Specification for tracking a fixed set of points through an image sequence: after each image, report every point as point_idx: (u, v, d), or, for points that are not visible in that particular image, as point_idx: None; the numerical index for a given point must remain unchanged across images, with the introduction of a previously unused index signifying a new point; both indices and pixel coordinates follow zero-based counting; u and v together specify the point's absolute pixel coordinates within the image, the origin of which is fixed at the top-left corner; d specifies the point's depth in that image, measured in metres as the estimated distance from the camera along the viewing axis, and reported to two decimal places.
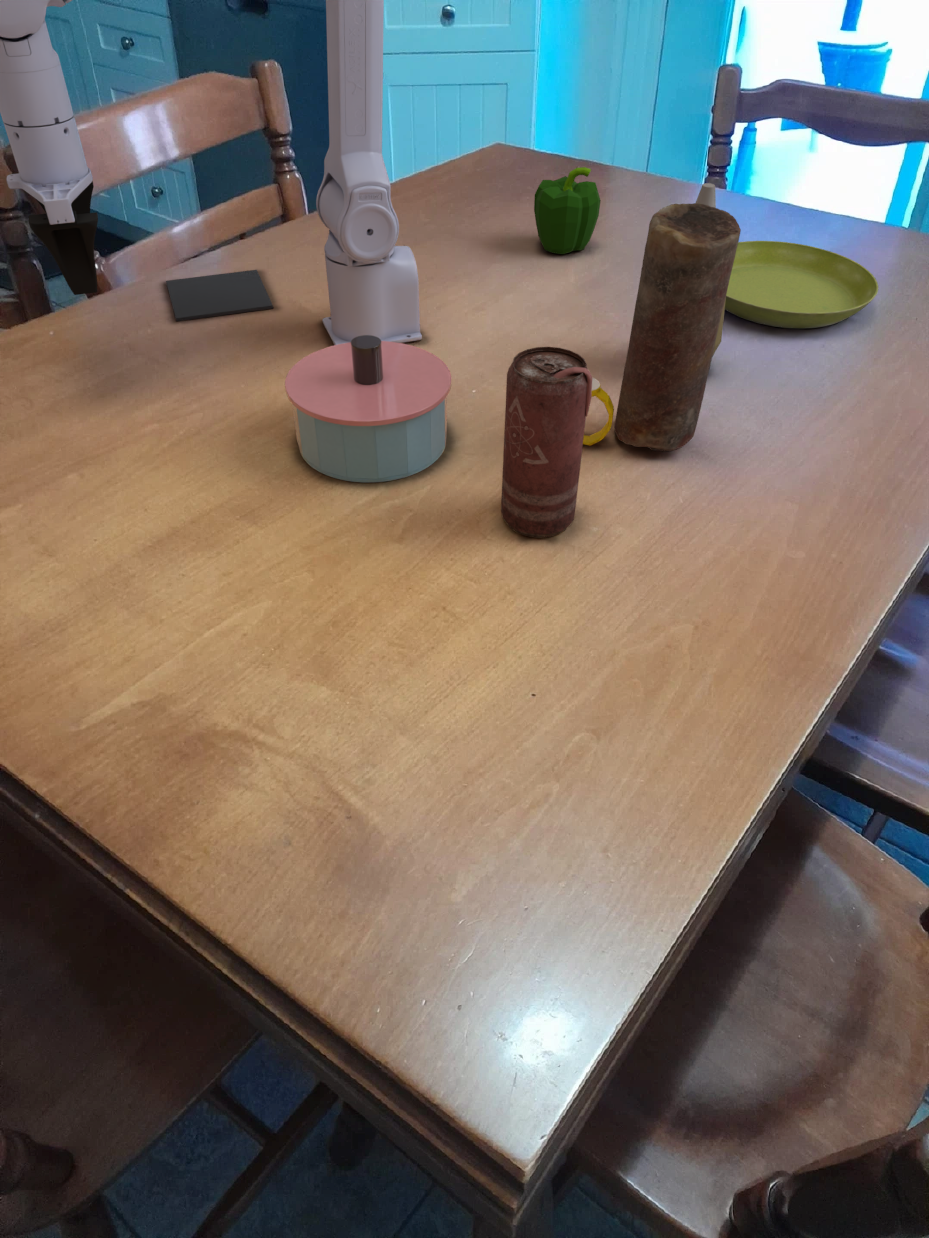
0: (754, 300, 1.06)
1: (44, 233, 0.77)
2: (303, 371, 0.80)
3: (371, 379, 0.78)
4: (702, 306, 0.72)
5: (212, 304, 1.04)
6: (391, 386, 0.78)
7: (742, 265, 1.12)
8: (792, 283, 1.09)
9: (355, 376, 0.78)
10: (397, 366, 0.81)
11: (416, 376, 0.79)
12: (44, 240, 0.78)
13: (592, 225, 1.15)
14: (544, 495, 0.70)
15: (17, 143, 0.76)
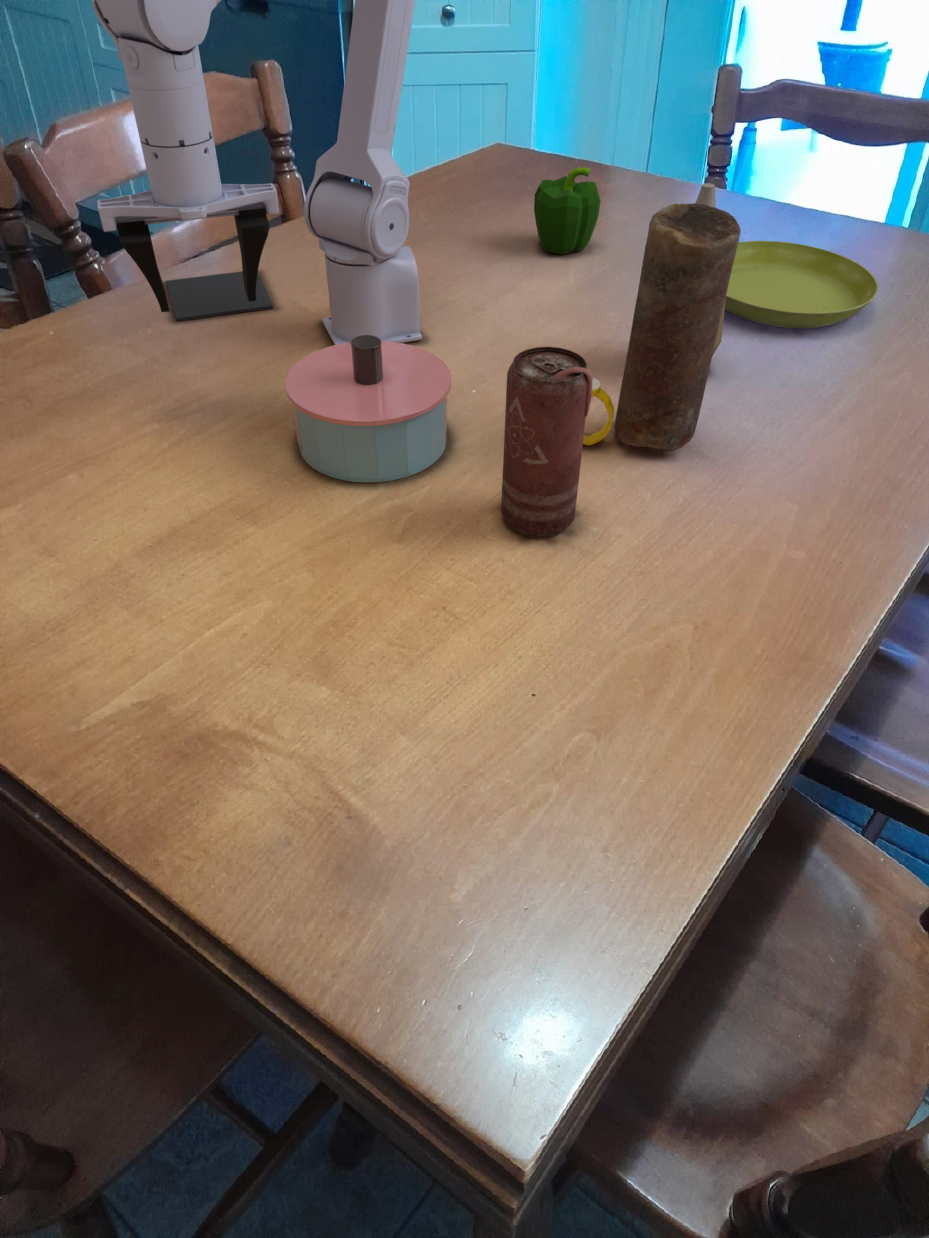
0: (754, 300, 1.06)
1: None
2: (303, 371, 0.80)
3: (371, 379, 0.78)
4: (702, 306, 0.72)
5: (212, 304, 1.04)
6: (391, 386, 0.78)
7: (742, 265, 1.12)
8: (792, 283, 1.09)
9: (355, 376, 0.78)
10: (397, 366, 0.81)
11: (416, 376, 0.79)
12: None
13: (592, 225, 1.15)
14: (544, 495, 0.70)
15: (206, 160, 0.72)
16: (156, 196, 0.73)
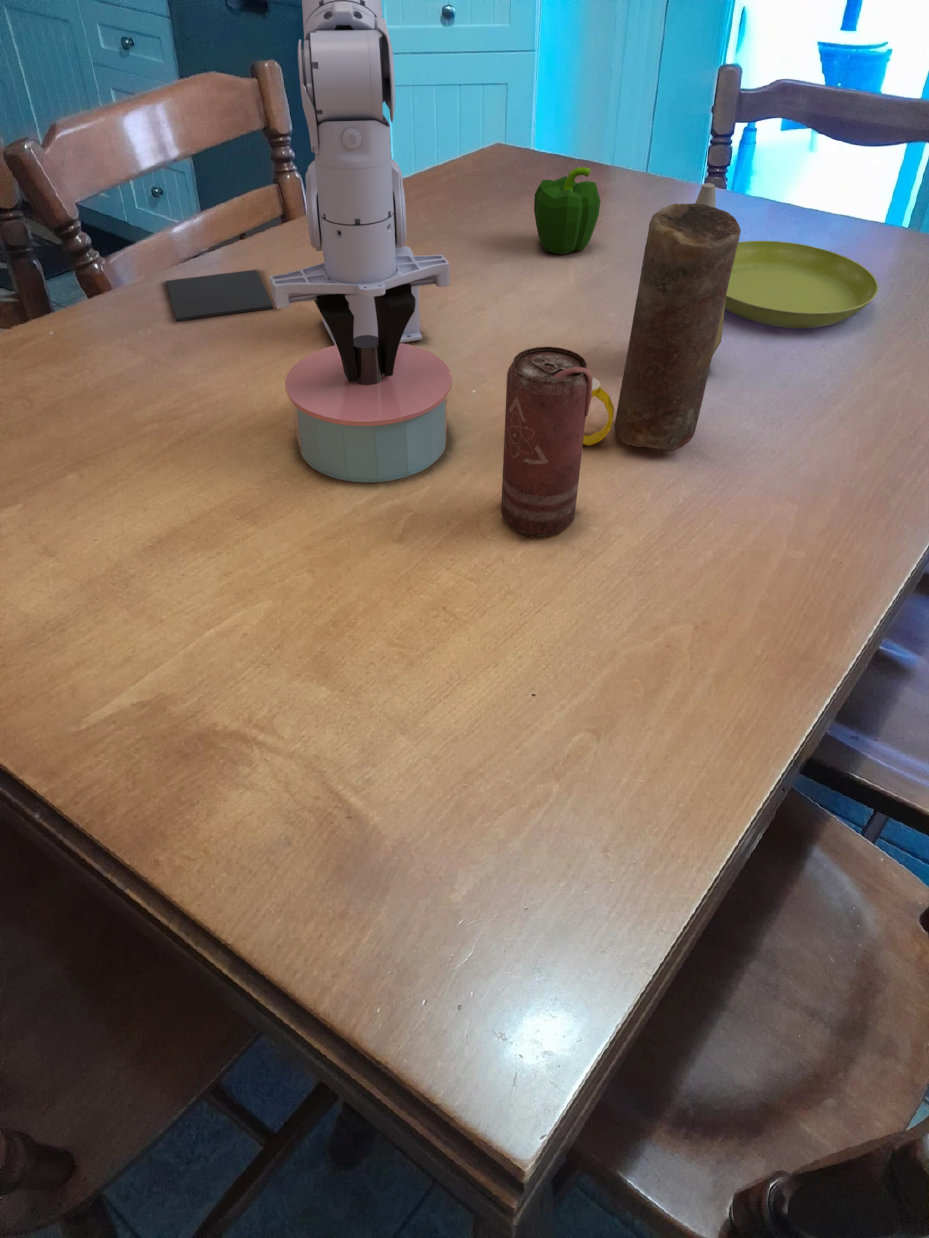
0: (754, 299, 1.06)
1: None
2: (303, 371, 0.80)
3: (371, 379, 0.78)
4: (702, 306, 0.72)
5: (212, 304, 1.04)
6: (391, 386, 0.78)
7: (742, 265, 1.12)
8: (792, 283, 1.09)
9: None
10: (397, 366, 0.81)
11: (416, 376, 0.79)
12: None
13: (592, 225, 1.15)
14: (544, 495, 0.70)
15: (388, 236, 0.70)
16: (333, 272, 0.71)
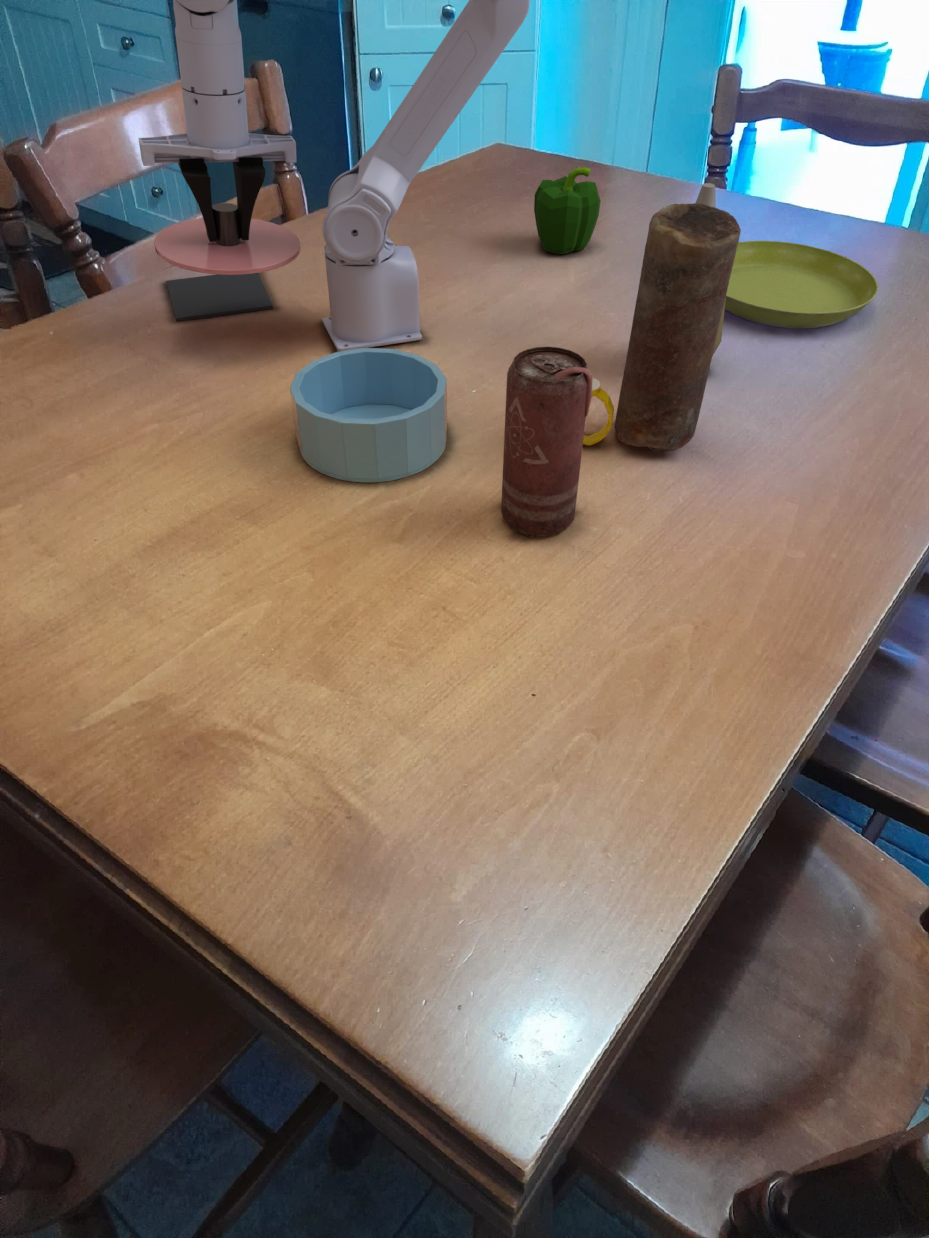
0: (754, 299, 1.06)
1: None
2: (172, 233, 0.93)
3: (229, 241, 0.91)
4: (702, 306, 0.72)
5: (212, 304, 1.04)
6: (246, 248, 0.92)
7: (742, 265, 1.12)
8: (792, 283, 1.09)
9: None
10: (255, 235, 0.94)
11: (270, 243, 0.93)
12: (260, 185, 0.88)
13: (592, 225, 1.15)
14: (544, 495, 0.70)
15: (239, 109, 0.83)
16: (192, 138, 0.84)
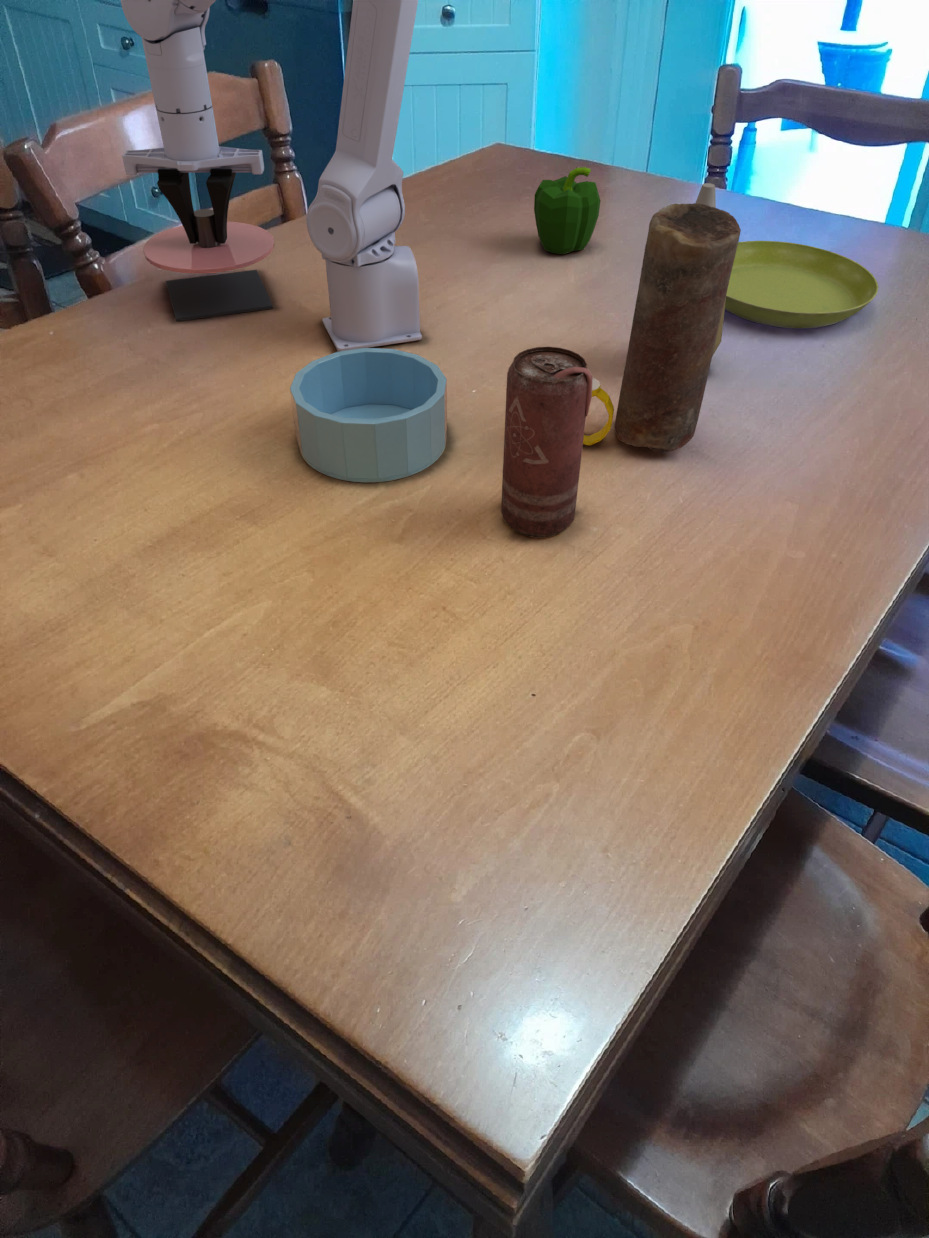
0: (754, 300, 1.06)
1: (229, 187, 0.97)
2: (168, 234, 1.05)
3: (206, 243, 1.01)
4: (702, 306, 0.72)
5: (212, 304, 1.04)
6: (219, 251, 1.01)
7: (742, 265, 1.12)
8: (792, 283, 1.09)
9: None
10: (237, 239, 1.04)
11: (244, 247, 1.02)
12: (227, 194, 0.97)
13: (592, 225, 1.15)
14: (544, 495, 0.70)
15: (201, 126, 0.93)
16: (165, 151, 0.95)
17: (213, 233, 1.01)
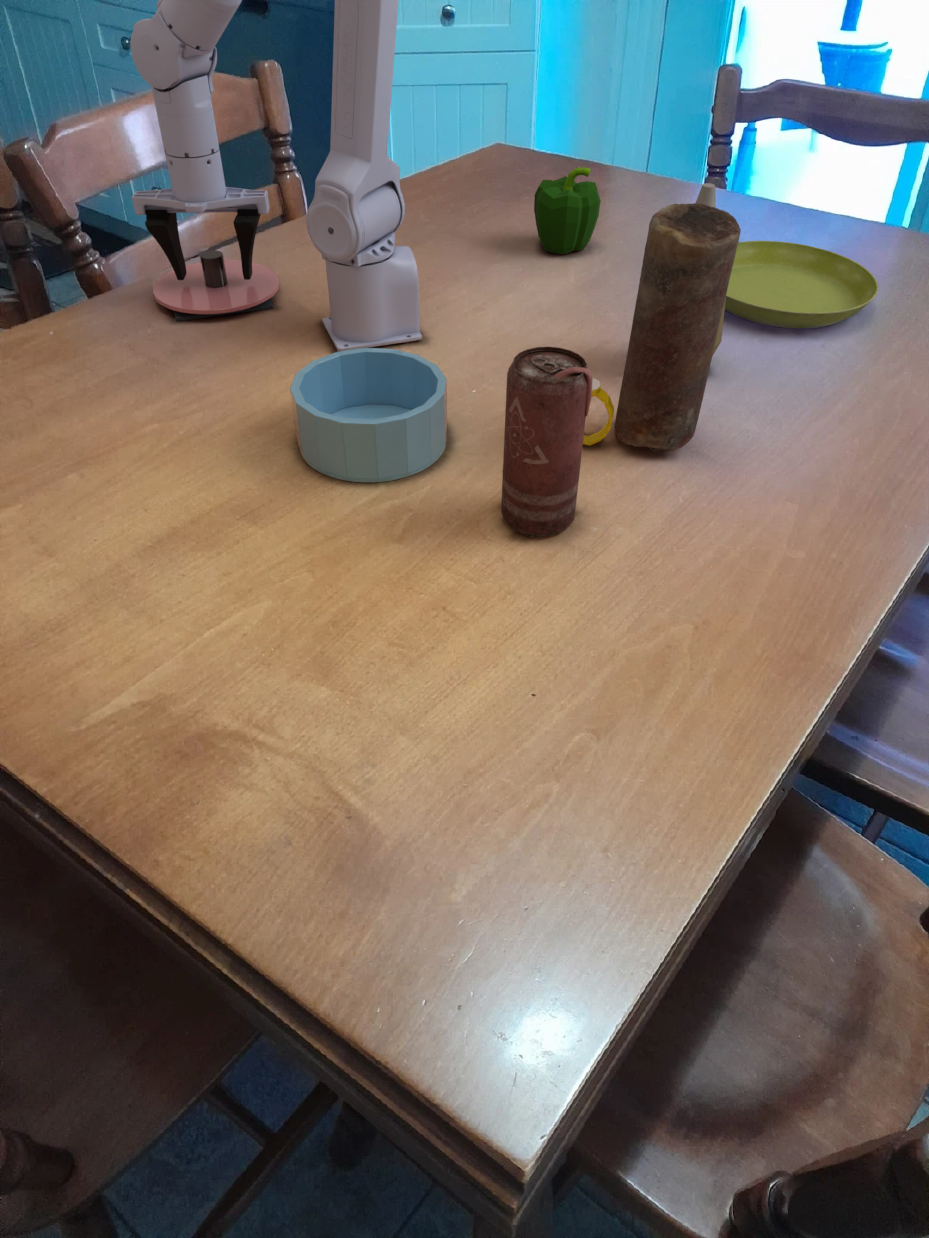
0: (754, 300, 1.06)
1: (256, 226, 1.00)
2: None
3: (213, 283, 1.04)
4: (702, 306, 0.72)
5: None
6: (226, 291, 1.04)
7: (742, 265, 1.12)
8: (792, 283, 1.09)
9: (204, 280, 1.05)
10: (243, 279, 1.07)
11: (250, 287, 1.05)
12: (254, 233, 1.00)
13: (592, 225, 1.15)
14: (544, 495, 0.70)
15: (208, 169, 0.95)
16: (173, 192, 0.98)
17: (220, 274, 1.04)
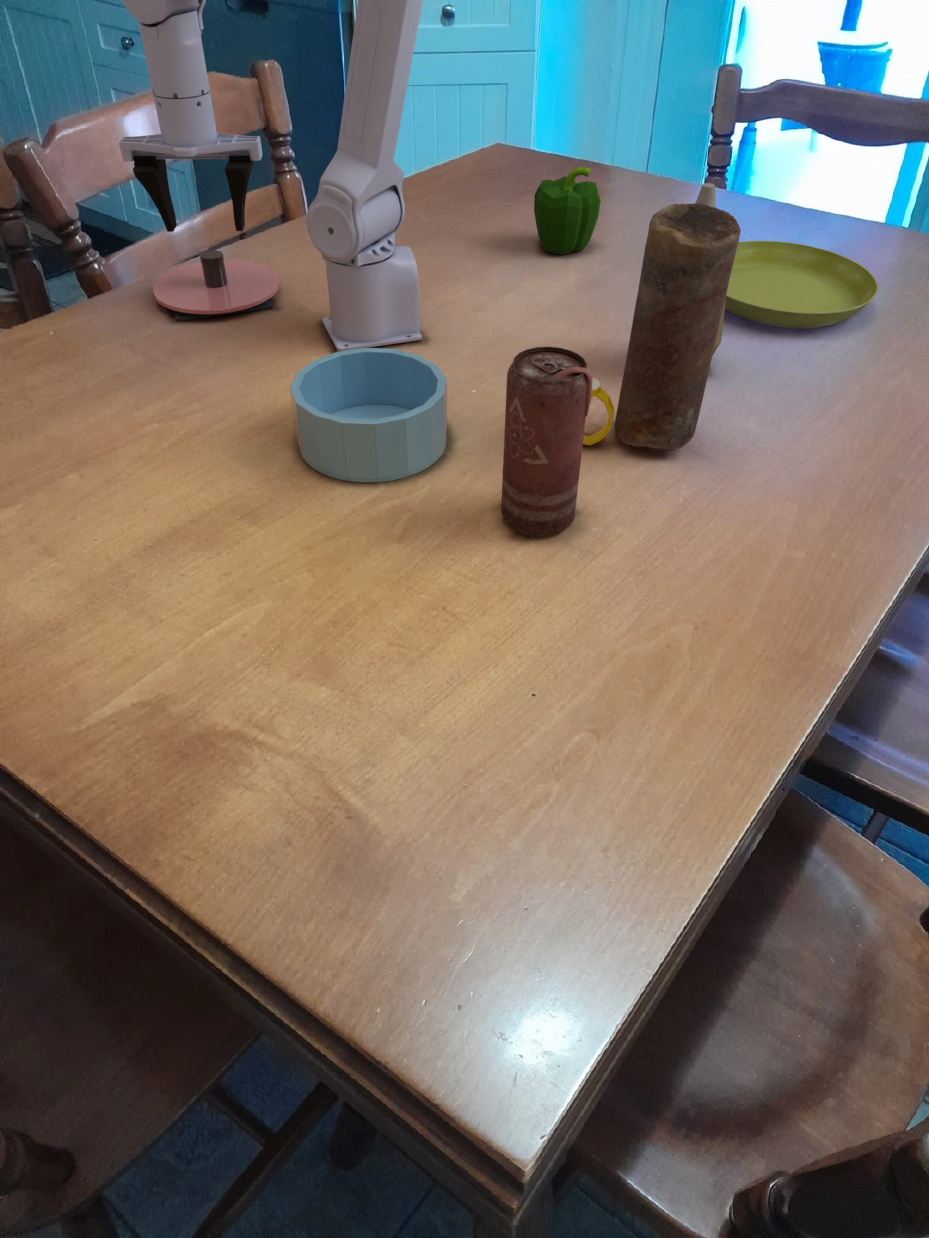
0: (754, 300, 1.06)
1: (248, 174, 0.96)
2: (177, 273, 1.08)
3: (213, 283, 1.04)
4: (702, 306, 0.72)
5: None
6: (226, 291, 1.04)
7: (742, 265, 1.12)
8: (792, 283, 1.09)
9: (204, 280, 1.05)
10: (243, 279, 1.07)
11: (250, 287, 1.05)
12: (246, 181, 0.96)
13: (592, 225, 1.15)
14: (544, 495, 0.70)
15: (199, 111, 0.92)
16: (162, 137, 0.94)
17: (220, 274, 1.04)
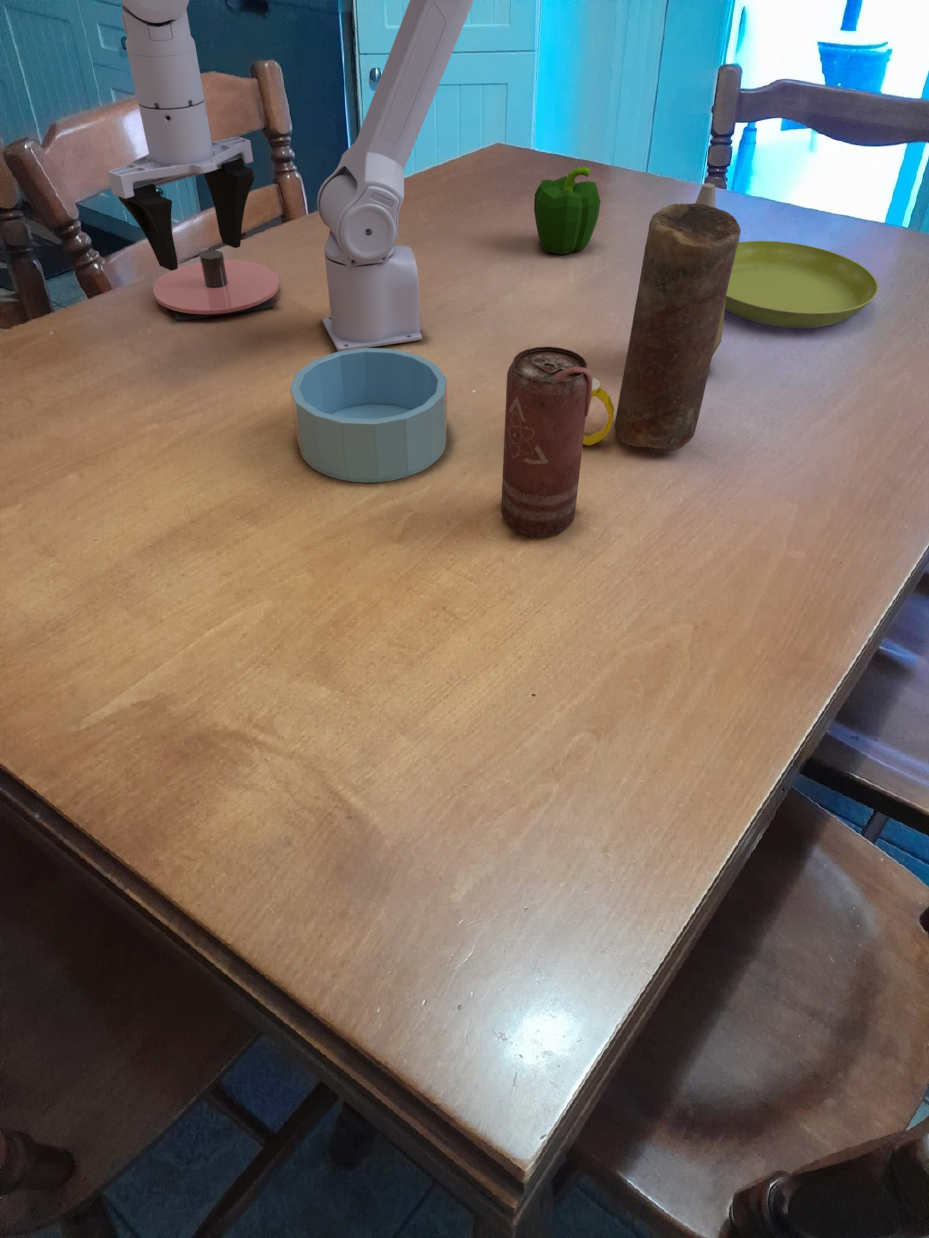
0: (754, 300, 1.06)
1: None
2: (177, 273, 1.08)
3: (213, 283, 1.04)
4: (702, 306, 0.72)
5: None
6: (226, 291, 1.04)
7: (742, 265, 1.12)
8: (792, 283, 1.09)
9: (204, 280, 1.05)
10: (243, 279, 1.07)
11: (250, 287, 1.05)
12: None
13: (592, 225, 1.15)
14: (544, 495, 0.70)
15: (206, 117, 0.81)
16: (165, 158, 0.80)
17: (220, 274, 1.04)
